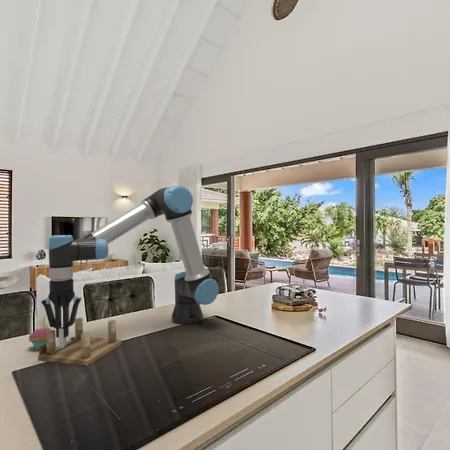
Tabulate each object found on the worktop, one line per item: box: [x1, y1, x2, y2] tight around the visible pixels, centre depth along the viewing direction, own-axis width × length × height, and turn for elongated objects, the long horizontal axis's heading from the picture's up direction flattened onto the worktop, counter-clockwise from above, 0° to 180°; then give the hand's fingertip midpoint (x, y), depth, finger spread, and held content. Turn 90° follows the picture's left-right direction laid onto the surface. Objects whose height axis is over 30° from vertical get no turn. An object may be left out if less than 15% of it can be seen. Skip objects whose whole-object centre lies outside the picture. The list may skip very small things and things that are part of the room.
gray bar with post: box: [46, 329, 77, 354], centre depth 119 cm, size 3×14×8 cm, turn 168°
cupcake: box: [28, 314, 52, 351], centre depth 124 cm, size 9×8×12 cm
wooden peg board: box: [37, 317, 123, 367], centre depth 119 cm, size 20×20×10 cm
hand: (62, 346), depth 114 cm, fingers closed
